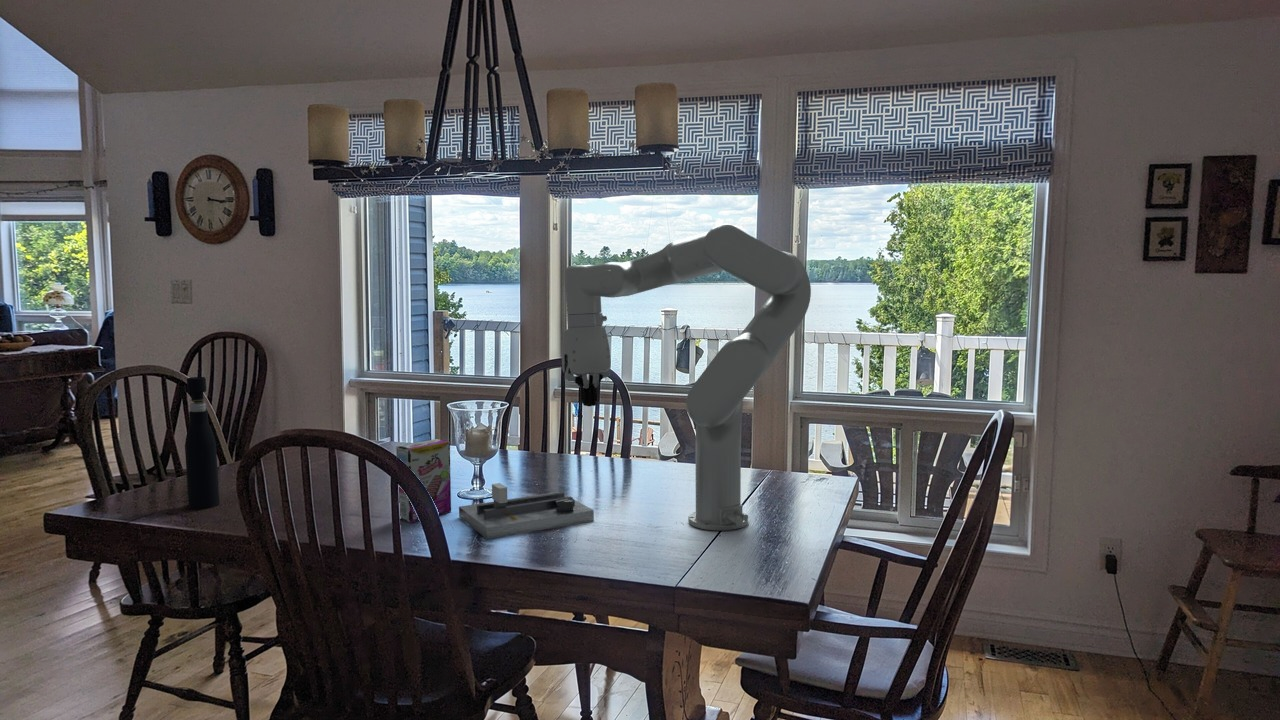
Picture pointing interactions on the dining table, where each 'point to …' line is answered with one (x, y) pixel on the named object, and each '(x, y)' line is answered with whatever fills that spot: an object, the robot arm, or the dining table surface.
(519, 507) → the console
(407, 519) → the candy bar box
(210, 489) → the black water bottle
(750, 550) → the dining table surface
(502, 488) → the block
